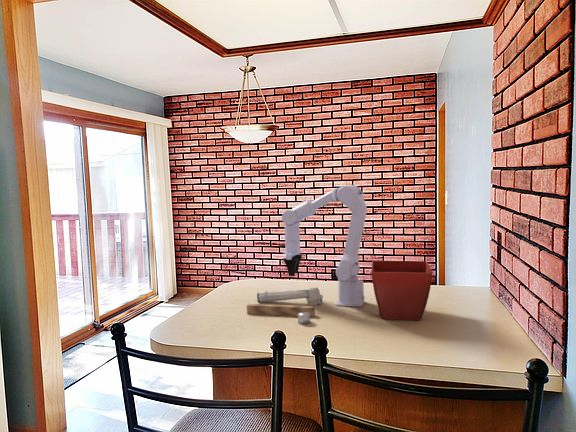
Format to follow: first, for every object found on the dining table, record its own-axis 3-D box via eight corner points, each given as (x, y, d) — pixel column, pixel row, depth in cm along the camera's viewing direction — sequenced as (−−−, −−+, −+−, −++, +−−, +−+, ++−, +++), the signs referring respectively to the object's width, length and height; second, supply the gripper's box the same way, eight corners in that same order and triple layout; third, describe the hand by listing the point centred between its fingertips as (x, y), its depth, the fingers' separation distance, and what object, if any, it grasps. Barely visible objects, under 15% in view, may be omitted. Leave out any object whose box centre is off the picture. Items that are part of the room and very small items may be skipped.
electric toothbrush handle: (259, 290, 179) (321, 283, 173) (262, 307, 179) (324, 300, 173) (255, 294, 174) (319, 286, 168) (258, 311, 174) (322, 304, 168)
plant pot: (433, 324, 144) (433, 272, 143) (371, 322, 148) (371, 271, 146) (427, 307, 163) (427, 260, 161) (372, 305, 166) (372, 260, 165)
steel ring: (311, 321, 152) (311, 312, 151) (308, 324, 148) (308, 315, 147) (299, 320, 152) (299, 311, 152) (296, 324, 149) (296, 315, 148)
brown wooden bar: (314, 314, 158) (314, 306, 158) (313, 316, 156) (313, 307, 156) (249, 311, 164) (248, 303, 164) (247, 313, 162) (246, 305, 161)
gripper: (286, 237, 186) (288, 270, 188) (277, 243, 172) (279, 278, 174) (303, 237, 185) (304, 270, 186) (296, 243, 171) (297, 278, 172)
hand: (293, 274), depth 180 cm, fingers open, 5 cm apart
